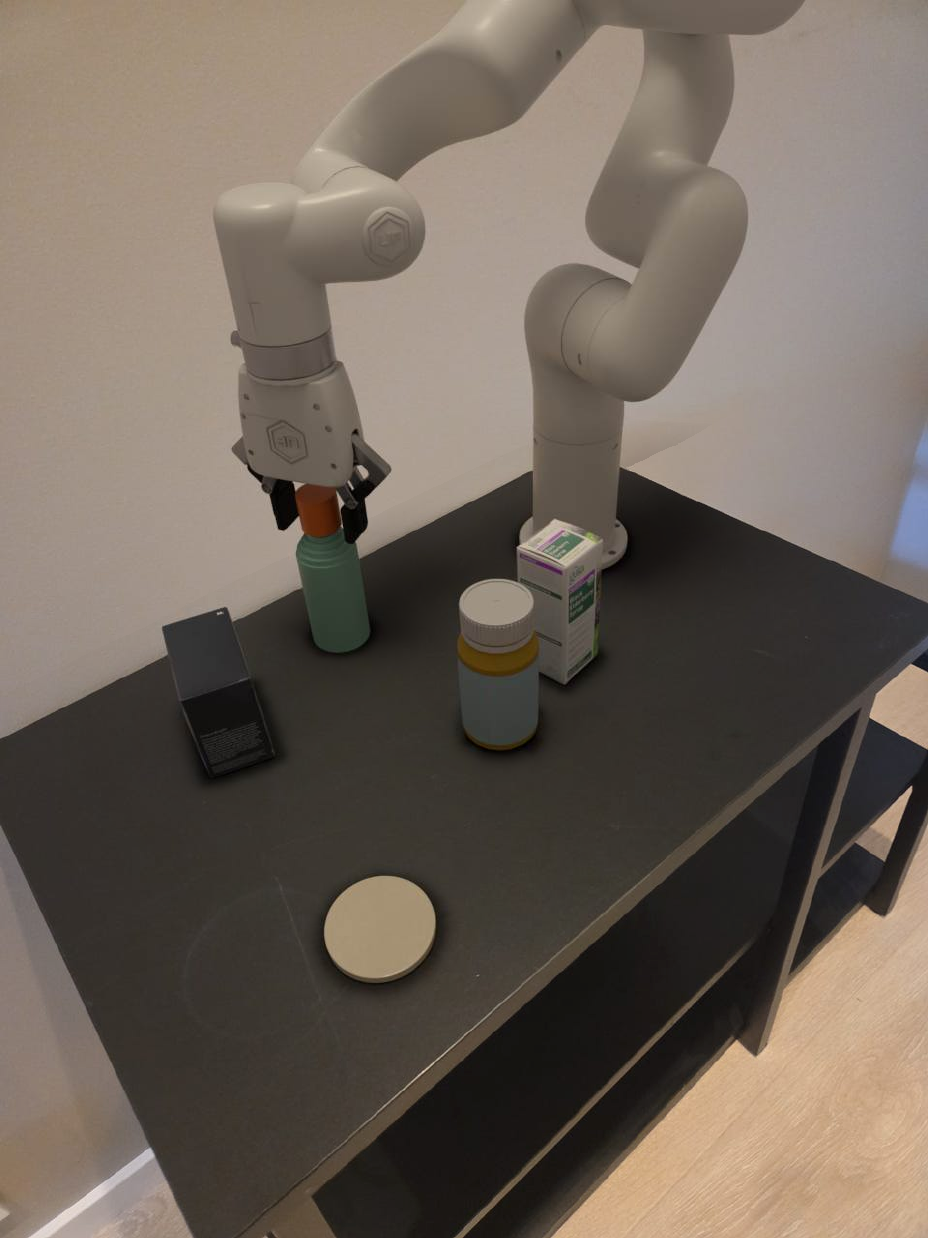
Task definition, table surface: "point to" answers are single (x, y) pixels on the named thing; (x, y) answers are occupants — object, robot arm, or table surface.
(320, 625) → the sauce bottle
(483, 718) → the bottle
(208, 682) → the small box
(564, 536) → the syrup box
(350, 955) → the coaster
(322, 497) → the cap
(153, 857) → the table surface
